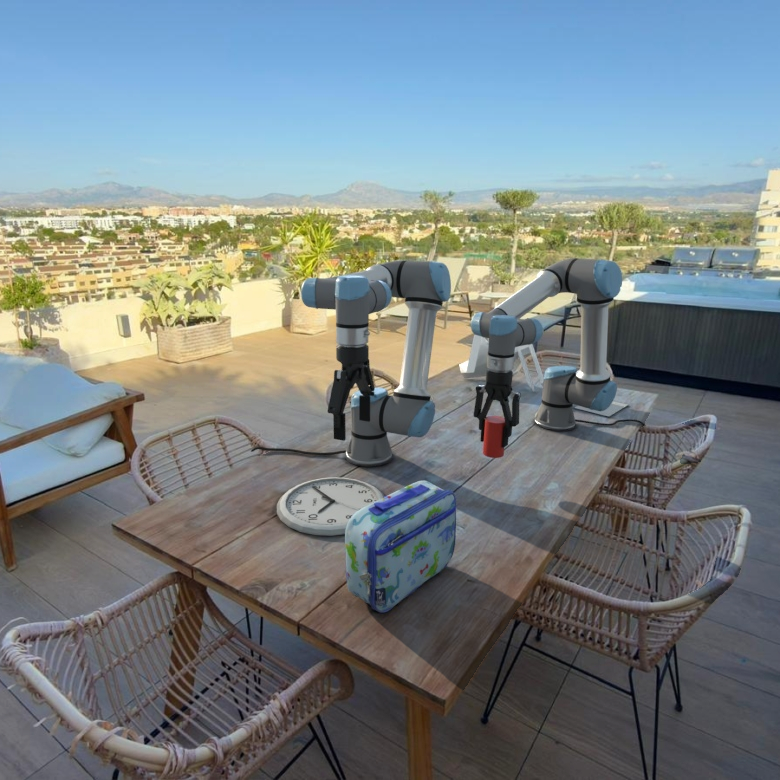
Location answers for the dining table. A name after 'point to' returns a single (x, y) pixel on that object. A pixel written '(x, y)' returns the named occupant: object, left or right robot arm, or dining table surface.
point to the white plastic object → (480, 354)
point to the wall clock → (325, 504)
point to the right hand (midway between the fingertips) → (494, 442)
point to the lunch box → (399, 543)
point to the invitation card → (609, 411)
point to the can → (493, 436)
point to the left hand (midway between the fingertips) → (352, 429)
